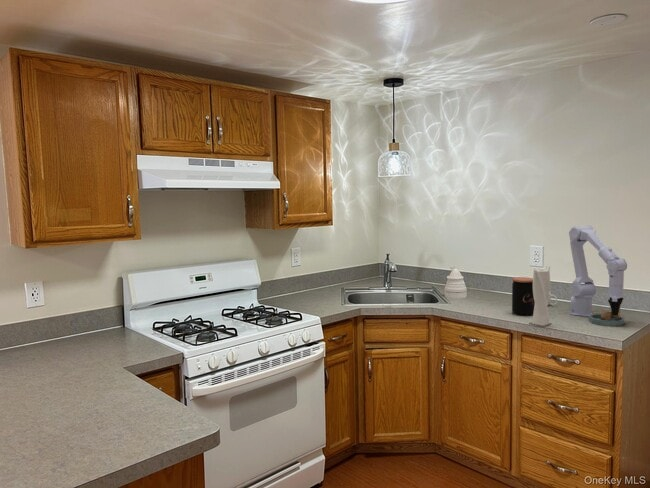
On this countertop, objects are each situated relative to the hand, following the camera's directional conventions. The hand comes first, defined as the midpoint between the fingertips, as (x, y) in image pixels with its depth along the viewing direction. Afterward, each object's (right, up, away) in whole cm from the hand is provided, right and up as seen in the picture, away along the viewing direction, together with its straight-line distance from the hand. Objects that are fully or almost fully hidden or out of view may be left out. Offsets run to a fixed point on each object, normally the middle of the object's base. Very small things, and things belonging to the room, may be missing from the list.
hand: (615, 314), depth 232 cm
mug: (-14, -1, +40) cm, 43 cm away
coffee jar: (-33, -3, +23) cm, 41 cm away
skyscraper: (-34, -5, +2) cm, 34 cm away
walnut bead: (-5, -4, -1) cm, 6 cm away
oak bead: (0, -2, 0) cm, 2 cm away
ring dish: (-3, -4, +2) cm, 6 cm away
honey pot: (-56, +1, +71) cm, 90 cm away
